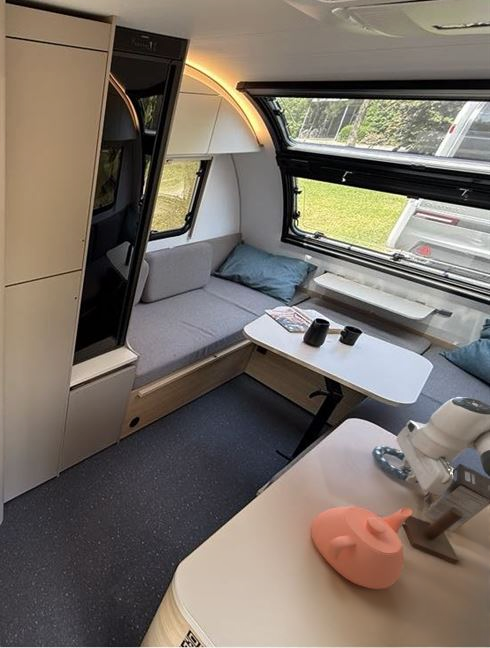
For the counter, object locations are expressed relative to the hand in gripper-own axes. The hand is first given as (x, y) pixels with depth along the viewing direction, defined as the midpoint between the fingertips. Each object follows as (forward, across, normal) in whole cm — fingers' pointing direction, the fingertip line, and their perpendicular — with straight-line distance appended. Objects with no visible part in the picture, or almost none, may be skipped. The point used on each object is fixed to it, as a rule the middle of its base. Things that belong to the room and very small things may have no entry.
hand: (405, 475), depth 106 cm
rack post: (+4, -17, 0) cm, 18 cm away
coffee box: (+4, -7, -6) cm, 11 cm away
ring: (0, +5, 0) cm, 5 cm away
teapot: (+4, -31, +20) cm, 37 cm away
